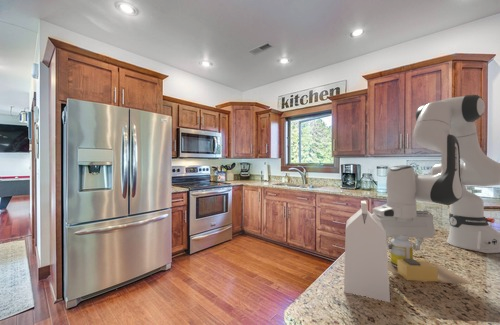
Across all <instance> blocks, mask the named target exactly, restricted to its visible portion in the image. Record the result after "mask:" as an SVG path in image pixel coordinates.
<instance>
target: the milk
mask: <svg viewBox="0 0 500 325" xmlns="http://www.w3.org/2000/svg"><path fill="white" fill-rule="evenodd" d="M367 206H368V205H367V201H366V200H360V209H359V210H358V211H357V212H355V213H354V214H352V215H351V216H350V217H349V218H348V219H347V220H346V222H345V236H344V238H345V243H344V244H345V245H344V282H343V283H344V284H343V293H346V294H350V293H353V294H352V295H355V294H356V296H359V295H361V296H360V297H363V296H366V297H365V298H368V297H369V298H368V299H372V298H374V299H373V300H377V299H379V300H378V301H381V300H382V302H386V303H391V293H390V279H389V278H390V276H389V269H388V262H389V259H388V249H387V241H388V240H387V241H386V232H385V229H384V227H383V225H382V223H381V222H380V221H381V220H380V219H379V217H378V216H377V215H376V214H374V213H373V212H372V213H371V212H370V211H369V210H368V207H367Z"/></svg>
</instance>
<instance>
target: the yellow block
mask: <svg viewBox="0 0 500 325" xmlns="http://www.w3.org/2000/svg"><path fill="white" fill-rule="evenodd" d="M431 263H432V262H429V261H428V260H425V259H414V258H413V259H403V260H402V259H397V267H398V273H399V274H400V275H401V276H402V277H404V278H405V279H406V280H414V281H438V269H437V267H436V266H435V265H433V264H431ZM414 281H413V282H414Z"/></svg>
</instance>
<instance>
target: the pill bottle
mask: <svg viewBox="0 0 500 325" xmlns="http://www.w3.org/2000/svg"><path fill="white" fill-rule="evenodd" d="M409 239H410V237H408V235H400V237H393V238H392V239H390V244H391V245H392V249H390V262H391V263H392V265H393V266H395V267H397V259H402V260H403V259H414V255H413V254H414V252H413V250H414V249H413V242H411V241H410V240H409ZM397 268H398V267H397Z"/></svg>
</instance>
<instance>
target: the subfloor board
mask: <svg viewBox="0 0 500 325" xmlns="http://www.w3.org/2000/svg"><path fill="white" fill-rule="evenodd" d="M430 263H431V264H433V265H435V266H436V267H437V269H438V281H414V280H406V279H405V278H404V277H402V276H401V275H400V274H399V273H398V268H397V267H395V266H393V265H392V263H391V261H388V271H390V272H391V273H392V274H394V275H395V276H396V277H397V278H398V279H400V280H401V281H402V282H413V283H414V282H415V283H416V282H417V283H418V282H419V283H420V282H421V283H438V284H439V283H440V284H441V283H442V284H443V283H444V284H465V285H473V283H472V282H470V281H469V280H467V279H466V278H463V277H461V276H460V275H458V274H456V273H455V272H453V271H451V270H449V269H448V268H446V267H444V266H442V265H441V264H439V263H435V262H433V263H432V262H430Z"/></svg>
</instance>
